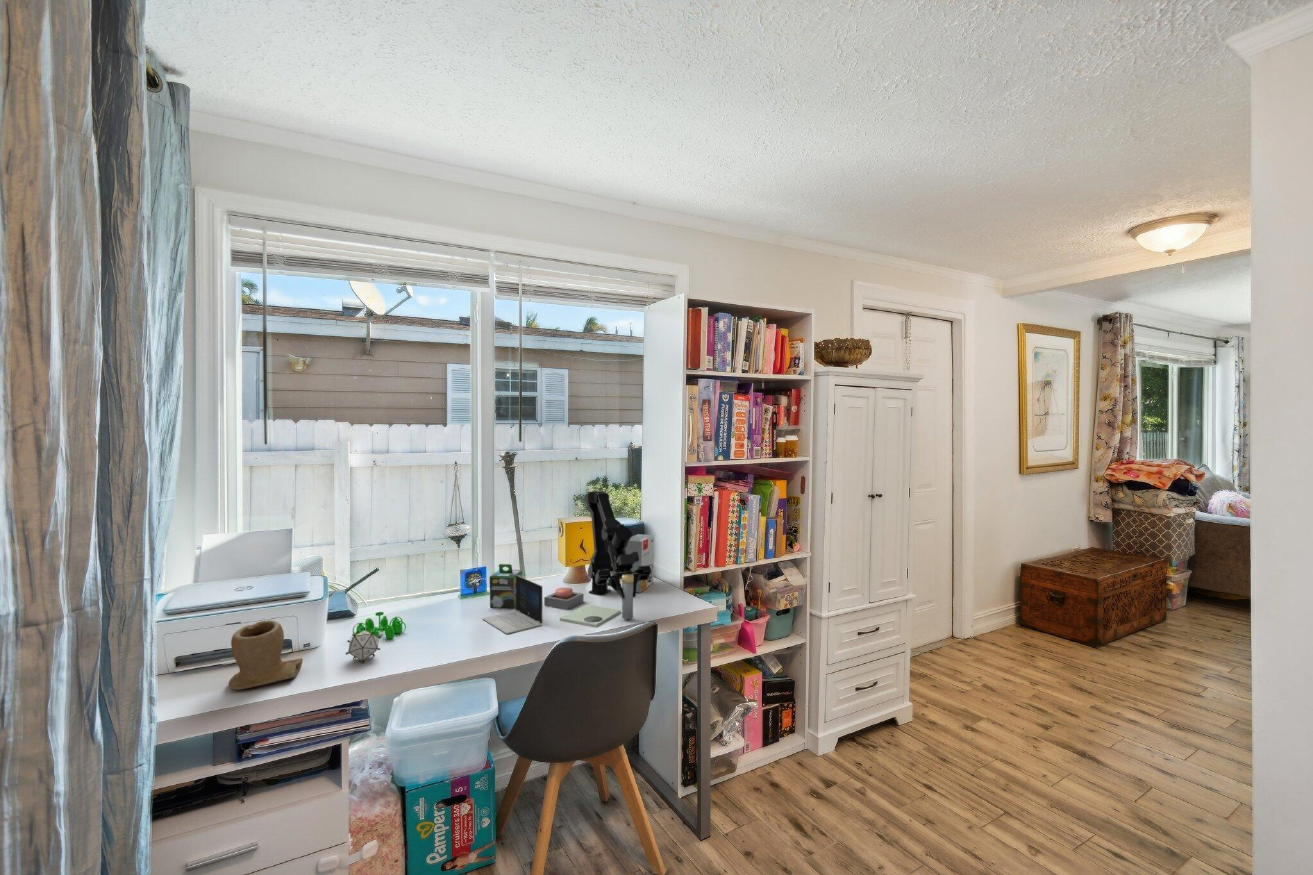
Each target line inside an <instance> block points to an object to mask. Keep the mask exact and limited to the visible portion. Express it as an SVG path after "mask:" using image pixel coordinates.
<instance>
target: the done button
mask: <svg viewBox="0 0 1313 875" xmlns="http://www.w3.org/2000/svg"><path fill="white" fill-rule="evenodd" d="M555 592H556V598H561V599H568V598H571V597H572V595H573V592H574V591H573V588H571V587H559V588H557V589H555Z"/></svg>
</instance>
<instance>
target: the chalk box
mask: <svg viewBox="0 0 1313 875" xmlns="http://www.w3.org/2000/svg"><path fill="white" fill-rule="evenodd" d="M498 568H499V569H498V570H497V571H494V572H493V574H491V575H489V606H490V607H489V608H496V609H500V608H501V609H513V610H514V609H516V575H518V576H520V577H522V578H523V570H522V569H513V566H512V564H510V563H509V564H508V563H507V564H506V563H500V564H498ZM504 568H507V569H504Z"/></svg>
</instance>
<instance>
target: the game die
mask: <svg viewBox="0 0 1313 875" xmlns="http://www.w3.org/2000/svg"><path fill="white" fill-rule="evenodd" d="M365 629H366V628H365V626H364V628H363V630H364V631H362V632H360V633H358V634H357V635H354V634H353V633H352V634H351V636H352V638H351V640H349V639H348V640H347V641H346V642H347V643H348V650H347V652H345V655H349V654H350V655H351V656H353V657H352V658H353V660H355V659H358V660H360V661H361V664H362V663H363V664H364V663H365V660H367V659H369V658H370V657H372V656H373V657H375V656H376V654H375V653H376V652H377V651H380V650H381V648H380V647H379V640H380V639H381V638H382V636H381V635H380V636H379V637H377V636H375V635H374V632H372V633H371V632H368V631H365ZM354 658H355V659H354Z"/></svg>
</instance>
